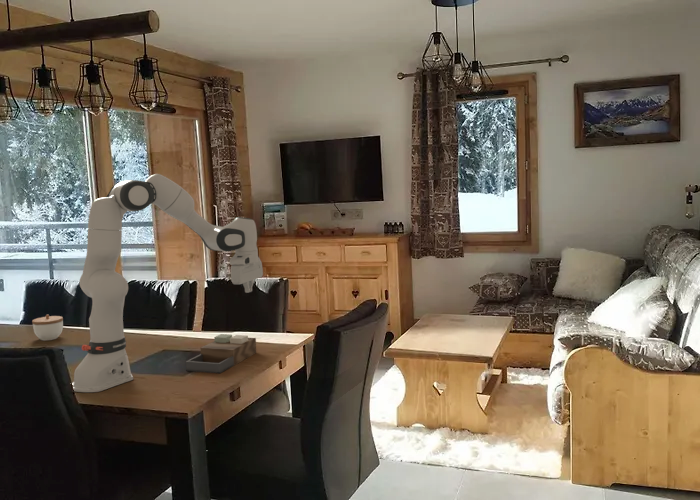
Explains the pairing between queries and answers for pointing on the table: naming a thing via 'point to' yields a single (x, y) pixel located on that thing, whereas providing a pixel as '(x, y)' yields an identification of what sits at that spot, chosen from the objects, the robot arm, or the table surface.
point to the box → (208, 365)
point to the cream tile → (239, 339)
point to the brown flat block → (228, 351)
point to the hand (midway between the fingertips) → (248, 292)
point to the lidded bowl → (48, 327)
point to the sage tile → (222, 338)
